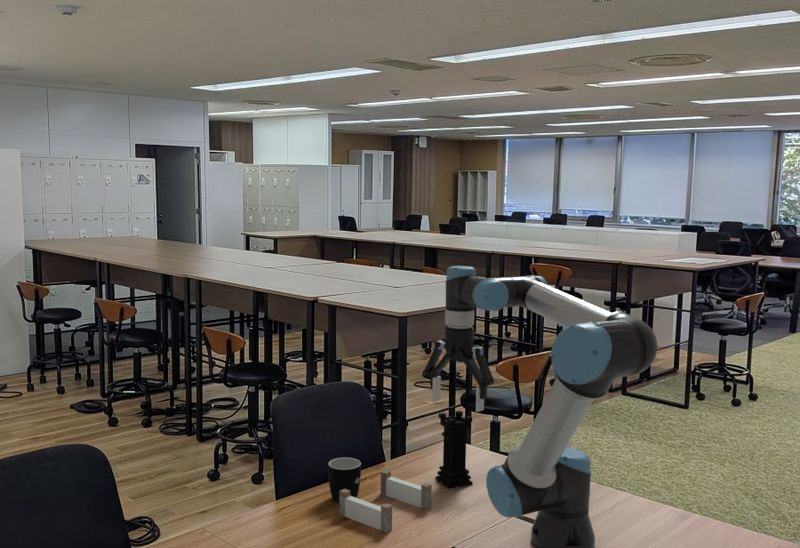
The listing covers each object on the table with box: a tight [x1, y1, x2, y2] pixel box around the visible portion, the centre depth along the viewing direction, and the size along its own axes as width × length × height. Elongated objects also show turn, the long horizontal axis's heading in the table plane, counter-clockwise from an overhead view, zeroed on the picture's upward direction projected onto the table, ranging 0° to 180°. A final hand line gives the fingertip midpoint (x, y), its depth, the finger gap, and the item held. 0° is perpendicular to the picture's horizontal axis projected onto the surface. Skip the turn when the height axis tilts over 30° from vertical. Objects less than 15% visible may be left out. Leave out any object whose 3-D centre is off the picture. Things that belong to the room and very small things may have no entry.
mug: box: [327, 456, 362, 504], centre depth 198 cm, size 12×9×10 cm
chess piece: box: [434, 410, 474, 490], centre depth 209 cm, size 8×8×20 cm
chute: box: [338, 469, 433, 533], centre depth 190 cm, size 16×19×6 cm
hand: (457, 405), depth 188 cm, fingers open, 13 cm apart
